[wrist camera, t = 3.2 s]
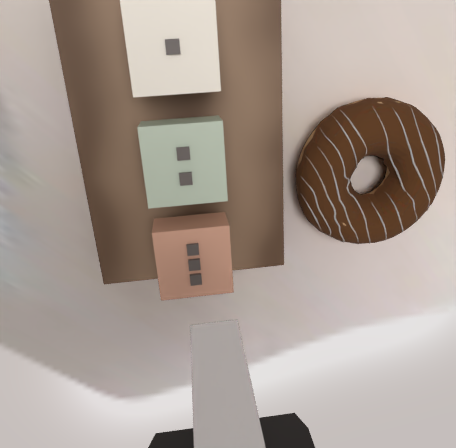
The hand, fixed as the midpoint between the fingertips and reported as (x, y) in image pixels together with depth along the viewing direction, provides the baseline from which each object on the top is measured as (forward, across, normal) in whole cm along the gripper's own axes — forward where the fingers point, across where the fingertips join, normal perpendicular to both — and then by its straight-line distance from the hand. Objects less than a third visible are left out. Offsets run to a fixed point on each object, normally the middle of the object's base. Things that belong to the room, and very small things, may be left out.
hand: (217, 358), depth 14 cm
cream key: (+14, -1, +10) cm, 17 cm away
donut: (+19, +12, +1) cm, 23 cm away
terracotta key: (+14, -1, -2) cm, 14 cm away
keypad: (+18, -1, +4) cm, 19 cm away
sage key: (+14, -1, +4) cm, 14 cm away
